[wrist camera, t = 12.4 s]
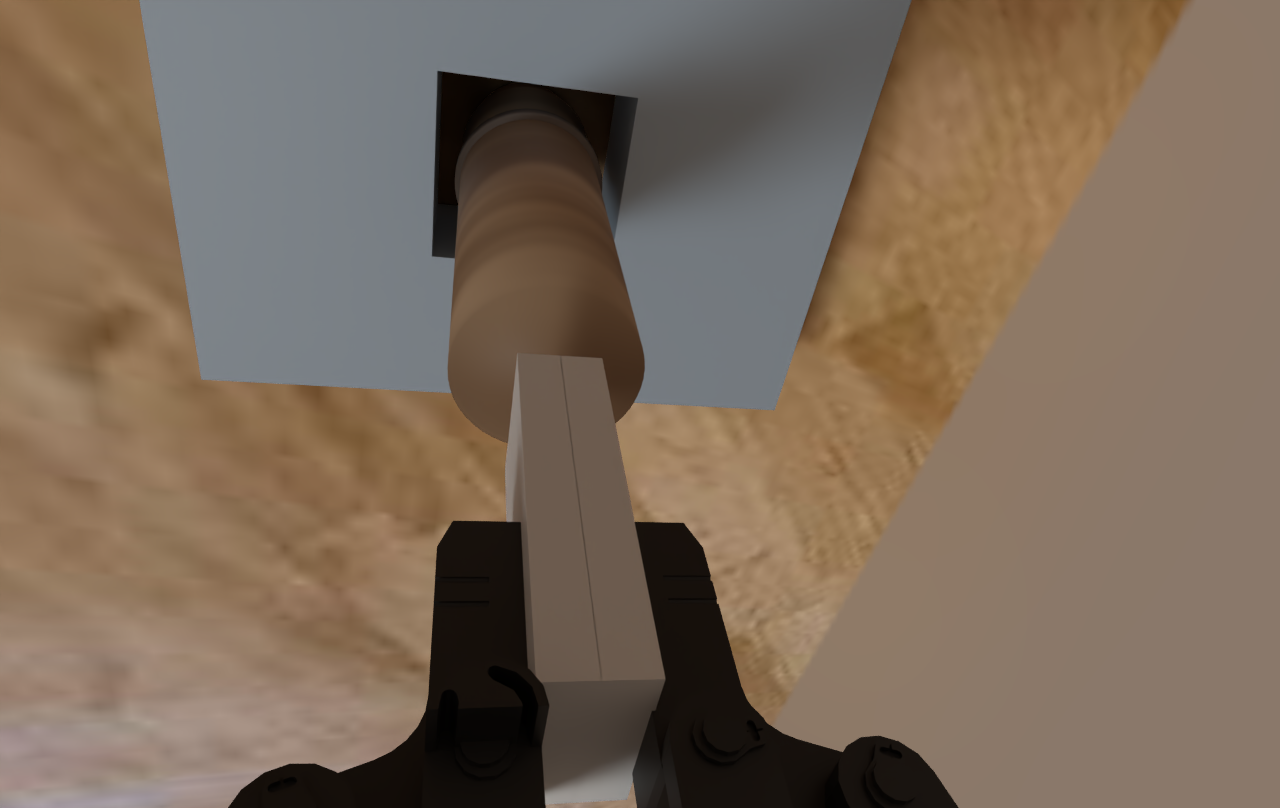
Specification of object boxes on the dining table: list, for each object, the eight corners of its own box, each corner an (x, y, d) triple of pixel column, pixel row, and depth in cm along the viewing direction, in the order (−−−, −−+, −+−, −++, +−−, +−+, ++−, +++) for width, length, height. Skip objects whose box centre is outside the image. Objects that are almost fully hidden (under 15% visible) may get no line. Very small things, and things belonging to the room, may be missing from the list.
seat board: (160, -224, 21) (102, -224, 18) (877, -83, 25) (932, -63, 22) (231, 316, 30) (201, 379, 27) (748, 352, 35) (774, 410, 32)
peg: (461, 59, 26) (443, 270, 15) (596, 77, 27) (670, 289, 16) (456, 188, 29) (436, 449, 18) (579, 201, 30) (633, 457, 19)
